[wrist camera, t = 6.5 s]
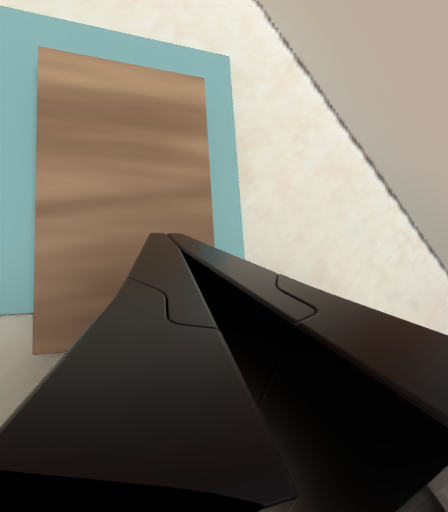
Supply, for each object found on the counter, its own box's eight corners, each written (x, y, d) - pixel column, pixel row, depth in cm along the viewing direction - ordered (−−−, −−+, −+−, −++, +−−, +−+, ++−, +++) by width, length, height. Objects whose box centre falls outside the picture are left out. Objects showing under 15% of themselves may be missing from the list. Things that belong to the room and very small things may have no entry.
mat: (242, 301, 18) (247, 300, 17) (-21, 316, 13) (-26, 316, 13) (225, 63, 19) (229, 56, 19) (-9, 14, 15) (-13, 2, 15)
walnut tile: (220, 336, 15) (204, 78, 17) (32, 354, 12) (38, 45, 14) (210, 335, 16) (196, 93, 18) (36, 352, 13) (41, 65, 15)
